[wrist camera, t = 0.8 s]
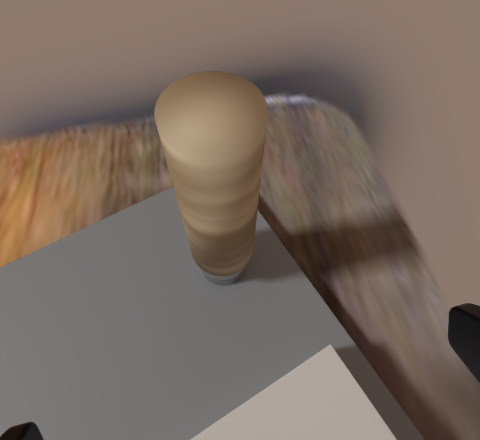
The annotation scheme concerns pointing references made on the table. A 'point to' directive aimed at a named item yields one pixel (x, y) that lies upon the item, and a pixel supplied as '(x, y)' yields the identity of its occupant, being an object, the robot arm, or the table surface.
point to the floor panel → (158, 332)
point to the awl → (215, 166)
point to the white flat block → (305, 408)
